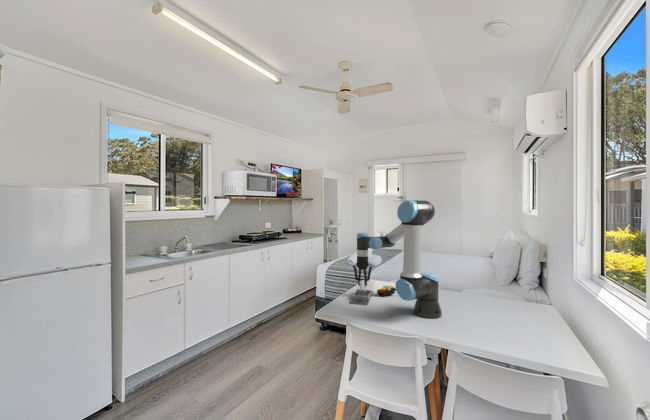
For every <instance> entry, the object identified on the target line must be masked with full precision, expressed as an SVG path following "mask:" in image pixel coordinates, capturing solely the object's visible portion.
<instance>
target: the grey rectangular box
mask: <svg viewBox="0 0 650 420" xmlns="http://www.w3.org/2000/svg"><path fill="white" fill-rule="evenodd" d="M373 294H374V291H373V290H372V289H365V291H364V289H362V290H361V291H360V288H356V290H355V291H354V293H352V295H351V300H350V301H349V304H350V305H360V306H368V304H369V303H370V301H371V299H372V297H373Z"/></svg>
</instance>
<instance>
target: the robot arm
mask: <svg viewBox="0 0 650 420" xmlns="http://www.w3.org/2000/svg"><path fill="white" fill-rule="evenodd" d="M396 213H397V218H398V220H399V221H401V223H399V225H397V226H396V227H395V228H394V229H392V230H391V231H389V233H387V234H386V235H385V236H384V235H383V236H369V234H368V232H358V233H357V234H356V256H357V257H356V263H355V264H353V265H352V268H353V271H354V279H355V280H356V281H357V283H358V284H357V285H358V287H359V289H360V291H361V290H364V291H365V290H366V287H367V286H368V282H369V281H370V279H371V274H372V273H371V272H372V268H373V266H372V265H370V263H369V249H371V250H380V249H384V248H385V249H387V248H393V247H395V246H396V245H397V242H398V241H400V240H401V239H403V266H402V267H403V268H402V271H401V272H400V274H399V275H400V278H398V280H397V281H396V282H395V289H396V293H397V295H398V296H399V298H401V299H402V300H403V301H408V302H409V301H414V300H416V301H415V302H414V306H413V313H414V314H415V315H417V316H419V317H420V318H423V319H424V318H426V319H438V318H441V317H442V315H443V311H442V308H441V305H440V303H439V276H438V275H437V274H434V273H431V272H430V273H429V272H424V271H423V272H421V271H420V270H421V269H420V267H421V265H420V264H421V263H420V262H421V236H422V235H421V229H422V228H423V227H424V225H426V224H427V223H429V222H431V220H432V219H433V218H434V216H435V214H436V209H435V207H434V205H433V204H432V203H431V202H430V201H429V200H419V199H417V200H415V199H414V200H413V199H411V200H410V199H409V200H404V201H402V202H401V203H400V204H399V206H398V207H397V211H396ZM357 269H358V271H357ZM367 269H368V272H367ZM362 270H363V276H364V277H363V278H364V280H363V287H362V280H361V279H362Z"/></svg>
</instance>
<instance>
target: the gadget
mask: <svg viewBox="0 0 650 420" xmlns="http://www.w3.org/2000/svg"><path fill="white" fill-rule="evenodd" d="M395 291H396V287H394V286H393V285H383V286H382V287H381V288H379V289H377V290H376V293H377V294H378V296H380V297H385V296H392V295H393V294H395V293H396V292H397V291H396V292H395Z"/></svg>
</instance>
